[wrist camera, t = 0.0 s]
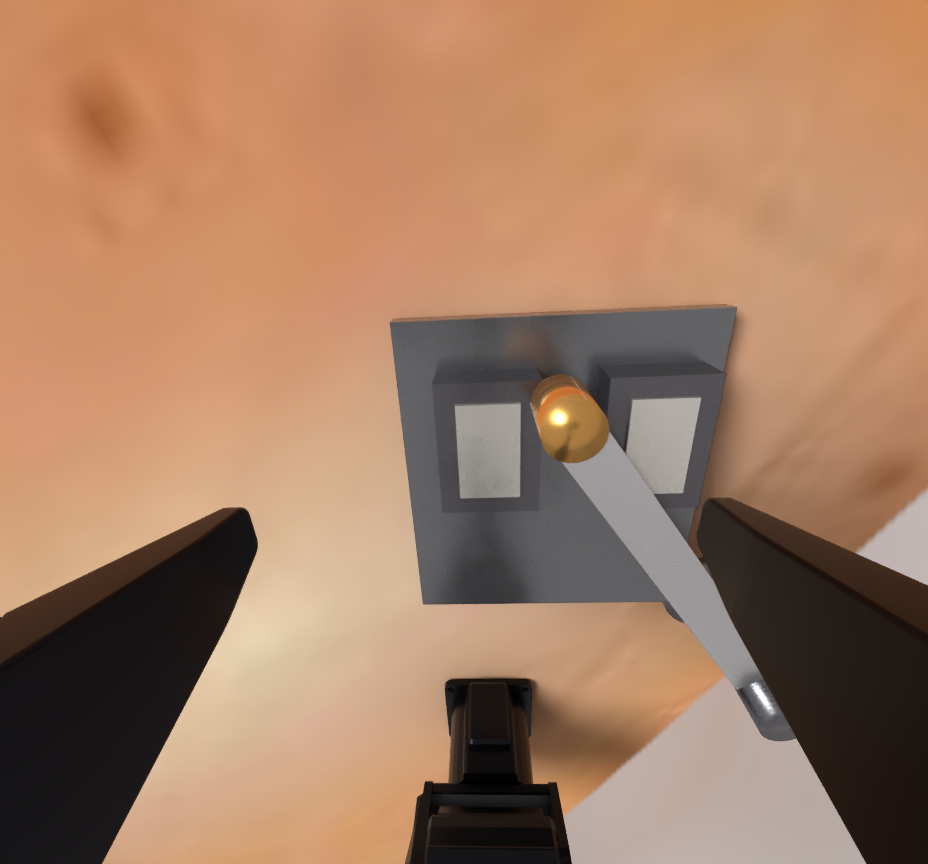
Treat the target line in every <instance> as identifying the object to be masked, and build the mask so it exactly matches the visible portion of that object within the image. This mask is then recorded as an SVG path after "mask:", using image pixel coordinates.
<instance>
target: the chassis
mask: <svg viewBox="0 0 928 864" xmlns="http://www.w3.org/2000/svg"><path fill="white" fill-rule="evenodd" d="M736 311H737V307H734V306H731V305H727V304H718V305H696V306H673V307H651V308H628V309H605V310H583V311H560V312H538V313H515V314H492V315H470V316H447V317H425V318H402V319H393V320H392V321H391V322H390V329H391V337H392V346H393V354H394V362H395V371H396V379H397V388H398V396H399V405H400V413H401V422H402V430H403V439H404V447H405V455H406V464H407V472H408V481H409V489H410V498H411V506H412V515H413V523H414V532H415V540H416V549H417V557H418V565H419V574H420V582H421V591H422V599H423V604H507V603H592V602H669V601H668V600H667V599H666V597H665V596H664V595H663V594H662V592H661V591H660V590H659V588H658V587H657V586H656V584H655V583H654V582H653V581H652V579H651V578H650V577H649V575H648V574H647V573H646V571H645V570H644V569H643V567H642V566H641V565H640V564H639V562H638V561H637V560H636V558H635V557H634V556H633V554H632V553H631V552H630V551H629V549H628V548H627V547H626V545H625V544H624V543H623V541H622V540H621V539H620V537H619V536H618V535H617V534H616V532H615V531H614V530H613V528H612V527H611V526H610V524H609V523H608V522H607V521H606V519H605V518H604V517H603V515H602V514H601V513H600V511H599V510H598V509H597V507H596V506H595V505H594V504H593V502H592V501H591V500H590V498H589V497H588V496H587V494H586V493H585V492H584V491H583V489H582V488H581V487H580V485H579V484H578V483H577V481H576V480H575V479H574V477H573V476H572V475H571V474H570V472H569V471H568V470H567V468H566V467H565V466H564V464H563V463H562V462H561V461H558V460H556V459H554V458H553V457H551V456H550V455H549V454H548V453H547V452H546V451H545V449H544V447H543V445H542V442H541V439H540V436H539V432H538V429H537V426H536V423H535V420H534V416H533V413H532V410H531V404H530V403H531V396H532V393H533V391H534V389H535V388H536V387H537V385H538V384H539V383H540V382H541V381H543V380H544V379H546V378H548V377H550V376H553V375H558V374H565V375H570V376H573V377H575V378H577V379H578V380H579V381H580V382H582V384H583V385H584V386H585V388H586V389H587V390H588V392H589V393H590V395H591V396H592V397H593V399H594V400H595V402H596V403H597V404H598V406H599V407H600V409H601V410H602V411H603V413H604V414H605V416H606V418H607V420H608V423H609V431H610V433H611V434H612V435H613V437H614V438H615V440H616V441H617V443H618V444H619V445H620V447H621V448H622V450H623V451H624V453H625V454H626V456H627V457H628V458H629V460H630V461H631V463H632V464H633V466H634V467H635V469H636V470H637V471H638V473H639V474H640V476H641V477H642V479H643V480H644V481H645V483H646V484H647V486H648V487H649V489H650V490H651V492H652V493H653V494H654V496H655V497H656V499H657V500H658V502H659V503H660V504H661V506H662V507H663V509H664V510H665V512H666V513H667V515H668V516H669V517H670V519H671V520H672V522H673V523H674V525H675V526H676V528H677V529H678V530H679V532H680V533H681V535H682V536H683V538H684V539H685V540H686V542H687V543H688V539H689V534H690V529H691V525H692V520H693V515H694V510H695V507H698V505H699V501H700V496H701V491H702V487H703V482H704V477H705V473H706V468H707V463H708V459H709V454H710V449H711V445H712V440H713V435H714V431H715V426H716V421H717V417H718V412H719V407H720V402H721V398H722V393H723V388H724V384H725V379H726V373H724V368H725V363H726V358H727V353H728V349H729V344H730V339H731V334H732V330H733V325H734V320H735V315H736Z"/></svg>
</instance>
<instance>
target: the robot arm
mask: <svg viewBox="0 0 928 864" xmlns="http://www.w3.org/2000/svg"><path fill="white" fill-rule="evenodd" d="M697 541H698V545H699V548H700V550H701V553H702V555H703V557H704V560H705V562H706V564H707V567H708V569H709V571H710V574H711V576H712V578H713V581H714V583H715V585H716V588H717V590H718V592H719V595H720V597H721V600H722V602H723V604H724V607H725V609H726V611H727V613H728V615H729V617H730V619H731V621H732V623H733V625H734V627H735V629H736V631H737V632H738V634H739V636H740V638H741V640H742V641H743V643H744V645H745V647H746V649H747V650H748V652H749V654H750V656H751V658H752V659H753V661H754V663H755V665H756V667H757V668H758V670H759V672H760V674H761V675H762V677H763V679H764V681H765V683H766V684H767V686H768V688H769V690H770V692H771V693H772V695H773V697H774V699H775V701H776V702H777V704H778V706H779V708H780V710H781V711H782V713H783V715H784V717H785V719H786V720H787V722H788V724H789V726H790V727H791V729H792V731H793V733H794V735H795V736H796V738H797V740H798V742H799V743H800V745H801V747H802V749H803V751H804V753H805V754H806V756H807V758H808V760H809V762H810V763H811V765H812V767H813V769H814V771H815V772H816V774H817V776H818V778H819V779H820V781H821V783H822V785H823V787H824V788H825V790H826V792H827V794H828V796H829V797H830V799H831V801H832V803H833V804H834V806H835V808H836V810H837V812H838V814H839V815H840V817H841V819H842V821H843V823H844V824H845V826H846V828H847V830H848V832H849V833H850V835H851V837H852V839H853V841H854V842H855V844H856V846H857V848H858V849H859V851H860V853H861V855H862V857H863V858H864V860H865V862H866V864H928V585H925V584H923V583H921V582H919V581H916V580H914V579H912V578H910V577H907V576H905V575H903V574H901V573H898V572H896V571H894V570H891V569H889V568H887V567H885V566H883V565H880V564H878V563H876V562H873V561H871V560H869V559H867V558H864V557H862V556H860V555H858V554H856V553H853V552H851V551H849V550H847V549H844V548H842V547H840V546H838V545H835V544H833V543H831V542H829V541H826V540H824V539H822V538H820V537H817V536H815V535H813V534H811V533H808V532H806V531H804V530H802V529H799V528H797V527H795V526H793V525H790V524H788V523H786V522H784V521H781V520H779V519H777V518H775V517H772V516H770V515H768V514H766V513H763V512H761V511H759V510H757V509H754V508H752V507H750V506H748V505H745V504H743V503H741V502H739V501H736V500H734V499H732V498H709V499H708V500H706V501H705V503H704V506H703V510H702V514H701V518H700V523H699V527H698V532H697ZM257 548H258V541H257V537H256V534H255V531H254V527H253V524H252V521H251V517H250V514H249V512H248V511H247V510H246V509H245V508H242V507H236V508H223V509H220V510H218V511H216V512H214V513H212V514H210V515H208V516H206V517H204V518H202V519H200V520H198V521H196V522H194V523H191V524H189V525H187V526H185V527H183V528H181V529H179V530H177V531H175V532H173V533H171V534H169V535H167V536H165V537H162V538H160V539H158V540H156V541H154V542H152V543H150V544H148V545H146V546H144V547H142V548H140V549H138V550H136V551H134V552H131V553H129V554H127V555H125V556H123V557H121V558H119V559H117V560H115V561H113V562H111V563H109V564H107V565H105V566H103V567H100V568H98V569H96V570H94V571H92V572H90V573H88V574H86V575H84V576H82V577H80V578H78V579H76V580H74V581H72V582H69V583H67V584H65V585H63V586H61V587H59V588H57V589H55V590H53V591H51V592H49V593H47V594H45V595H43V596H40V597H38V598H36V599H34V600H32V601H30V602H28V603H26V604H24V605H22V606H20V607H18V608H16V609H14V610H12V611H9V612H7V613H6V614H4V615H3V617H0V864H102V863H103V861H104V859H105V857H106V855H107V853H108V851H109V849H110V848H111V846H112V844H113V842H114V840H115V838H116V836H117V834H118V832H119V830H120V828H121V827H122V825H123V823H124V821H125V819H126V817H127V815H128V813H129V811H130V809H131V807H132V806H133V804H134V802H135V800H136V798H137V796H138V794H139V792H140V790H141V788H142V786H143V784H144V783H145V781H146V779H147V777H148V775H149V773H150V771H151V769H152V767H153V765H154V763H155V762H156V760H157V758H158V756H159V754H160V752H161V750H162V748H163V746H164V744H165V742H166V741H167V739H168V737H169V735H170V733H171V731H172V729H173V727H174V725H175V723H176V721H177V720H178V718H179V716H180V714H181V712H182V710H183V708H184V706H185V704H186V702H187V700H188V699H189V697H190V695H191V693H192V691H193V689H194V687H195V685H196V683H197V681H198V679H199V678H200V676H201V674H202V672H203V670H204V668H205V666H206V664H207V662H208V660H209V658H210V657H211V655H212V653H213V651H214V649H215V647H216V645H217V643H218V641H219V639H220V637H221V636H222V634H223V632H224V630H225V628H226V625H227V623H228V621H229V619H230V617H231V615H232V612H233V610H234V608H235V605H236V603H237V600H238V598H239V595H240V593H241V590H242V588H243V585H244V583H245V580H246V578H247V575H248V573H249V570H250V568H251V565H252V563H253V560H254V558H255V555H256V552H257ZM445 696H446V706H447V716H448V726H449V735H450V737H451V745H450V764H449V782H448V783H433V781H425V784H424V791H423V794H422V795H420V796H418V797H417V803H416V812H415V820H414V827H413V832H412V837H411V841H410V845H409V849H408V853H407V857H406V861H405V864H572V862H571V856H570V850H569V845H568V839H567V834H566V829H565V824H564V819H563V813H562V808H561V803H560V798H559V792H558V787H557V783H556V782H548V784H533V776H532V766H531V757H530V747H529V737H530V736H531V708H532V685H531V682H530V681H528V680H449V681H447V682H446V683H445Z"/></svg>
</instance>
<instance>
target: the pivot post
mask: <svg viewBox="0 0 928 864" xmlns="http://www.w3.org/2000/svg"><path fill="white" fill-rule="evenodd" d="M699 561H700V562H701V563H702V565H703V566H704V568H705V569H706V571H707V572H708V574H709V575H710V576H711V574H710V571H709V569H708V567H707V564H706V562H705V560H704V559H701V560H699ZM711 578H712V576H711ZM712 579H713V578H712ZM663 604H664V606H665V608H666V610H667V612H668V613H669V614H670V615H671V616H672V617H673V618H674V619H676V620H678V621H680V622H683V623H685V622H684V621H683V620H682V618H681V617H680V616H679V614H678V613H677V612H676V611H675V609H674V608H673V607H672V605H671V604H670V603H669V602H663ZM734 688H735V687H734ZM736 691H737V693H738V695H739V696H740V698H741V700H742V702H743V703H744V705H745V707H746V708H747V710H748V712H749V714H750V716H751V718H752V719H753V721H754V723H755V724H756V726H757V728H758V730H759V732H760V733H761V735H762V736H763V737H765V738H767V739H769V740H773V741H788V740H792V739H796V736H795V735H794V733H793V731H792V729H791V727H790V726H789V724H788V722H787V720H786V719H785V717H784V715H783V713H782V711H781V710H780V708H779V706H778V704H777V702H776V701H775V699H774V697H773V695H772V693H771V692H770V690H769V688H768V686H767V684H766V683H765V681H764V679H763V680H760V681H758V682H755V683H753V684H750V685H748V686H745V687H743V688H740V689H738V690H736Z"/></svg>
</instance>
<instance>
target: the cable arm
mask: <svg viewBox="0 0 928 864" xmlns="http://www.w3.org/2000/svg"><path fill="white" fill-rule="evenodd" d="M530 404H531V410H532V413H533V416H534V420H535V423H536V426H537V429H538V432H539V436H540V439H541V442H542V445H543V447H544V449H545V451H546V452H547V453H548V454H549V455H550V456H551V457H553V458H554V459H556V460H558V461H561V462H562V463H563V464H564V466H565V467H566V468H567V470H568V471H569V472H570V474H571V475H572V476H573V477H574V479H575V480H576V481H577V483H578V484H579V485H580V487H581V488H582V489H583V491H584V492H585V493H586V494H587V496H588V497H589V498H590V500H591V501H592V502H593V504H594V505H595V506H596V507H597V509H598V510H599V511H600V513H601V514H602V515H603V517H604V518H605V519H606V521H607V522H608V523H609V524H610V526H611V527H612V528H613V530H614V531H615V532H616V534H617V535H618V536H619V537H620V539H621V540H622V541H623V543H624V544H625V545H626V547H627V548H628V549H629V551H630V552H631V553H632V554H633V556H634V557H635V558H636V560H637V561H638V562H639V564H640V565H641V566H642V567H643V569H644V570H645V571H646V573H647V574H648V575H649V577H650V578H651V579H652V581H653V582H654V583H655V584H656V586H657V587H658V588H659V590H660V591H661V592H662V594H663V595H664V596H665V597H666V599H667V600H668V601H669V603H670V604H671V605H672V607H673V608H674V609H675V611H676V612H677V613H678V614H679V616H680V617H681V618H682V620H683V621H684V622H685V624H686V625H687V626H688V627H689V629H690V630H691V631H692V633H693V634H694V635H695V637H696V638H697V639H698V641H699V642H700V643H701V644H702V646H703V647H704V648H705V650H706V651H707V652H708V654H709V655H710V656H711V657H712V659H713V660H714V661H715V663H716V664H717V665H718V667H719V668H720V669H721V671H722V672H723V673H724V674H725V676H726V677H727V678H728V680H729V681H730V682H731V684H732V685H733V686H734V687H735V689H736V690H738V689H740V688H743V687H745V686H748V685H750V684H753V683H755V682H758V681H760V680H763V677H762V675H761V674H760V672H759V670H758V668H757V667H756V665H755V663H754V661H753V659H752V658H751V656H750V654H749V652H748V650H747V649H746V647H745V645H744V643H743V641H742V640H741V638H740V636H739V634H738V632H737V631H736V629H735V627H734V625H733V623H732V621H731V619H730V617H729V615H728V613H727V611H726V609H725V607H724V604H723V602H722V600H721V597H720V595H719V592H718V590H717V588H716V585H715V583H714V581H713V579H712V578H711V576H710V575H709V574H708V572H707V571H706V569H705V568H704V566H703V565H702V563H701V562H700V561H699V559H698V558H697V556H696V555H695V553H694V552H693V551H692V549H691V548H690V546H689V545H688V543H687V542H686V540H685V539H684V538H683V536H682V535H681V533H680V532H679V530H678V529H677V528H676V526H675V525H674V523H673V522H672V520H671V519H670V517H669V516H668V515H667V513H666V512H665V510H664V509H663V507H662V506H661V504H660V503H659V502H658V500H657V499H656V497H655V496H654V494H653V493H652V492H651V490H650V489H649V487H648V486H647V484H646V483H645V481H644V480H643V479H642V477H641V476H640V474H639V473H638V471H637V470H636V469H635V467H634V466H633V464H632V463H631V461H630V460H629V458H628V457H627V456H626V454H625V453H624V451H623V450H622V448H621V447H620V445H619V444H618V443H617V441H616V440H615V438H614V437H613V435H612V434H611V433H610V431H609V423H608V420H607V418H606V416H605V414H604V413H603V411H602V410H601V409H600V407H599V406H598V404H597V403H596V402H595V400H594V399H593V397H592V396H591V395H590V393H589V392H588V390H587V389H586V388H585V386H584V385H583V384H582V382H580V381H579V380H578V379H577V378H575V377H573V376H570V375H565V374H558V375H553V376H550V377H548V378H546V379H544V380H543V381H541V382H540V383H539V384H538V385H537V387H536V388H535V389H534V391H533V393H532V396H531V403H530Z"/></svg>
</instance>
